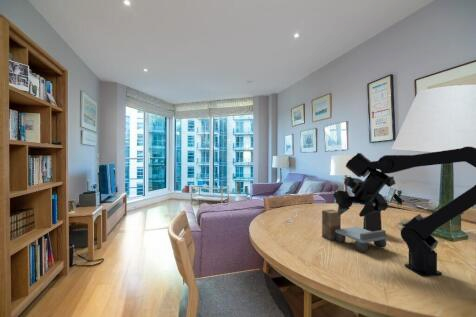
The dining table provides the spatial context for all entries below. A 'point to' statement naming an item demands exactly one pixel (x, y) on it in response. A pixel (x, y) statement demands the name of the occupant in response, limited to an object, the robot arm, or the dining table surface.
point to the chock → (330, 223)
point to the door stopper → (372, 222)
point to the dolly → (362, 237)
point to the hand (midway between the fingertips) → (349, 215)
